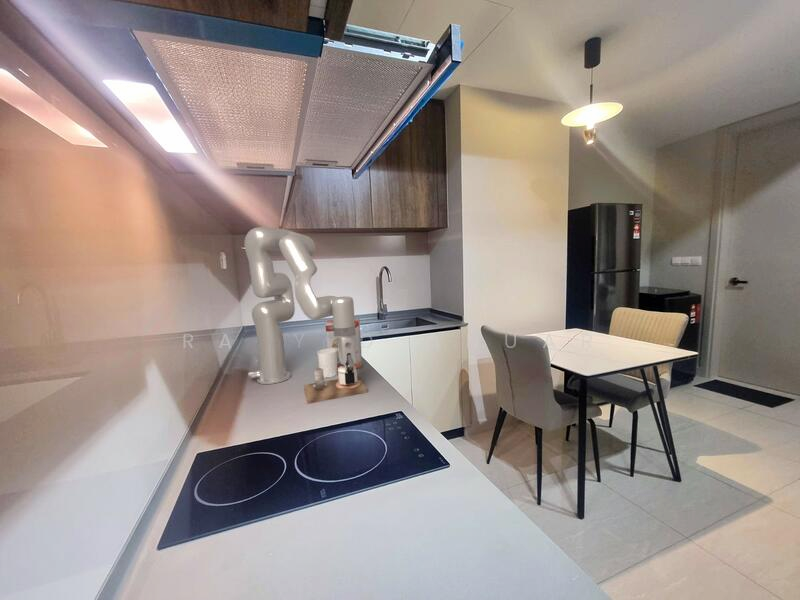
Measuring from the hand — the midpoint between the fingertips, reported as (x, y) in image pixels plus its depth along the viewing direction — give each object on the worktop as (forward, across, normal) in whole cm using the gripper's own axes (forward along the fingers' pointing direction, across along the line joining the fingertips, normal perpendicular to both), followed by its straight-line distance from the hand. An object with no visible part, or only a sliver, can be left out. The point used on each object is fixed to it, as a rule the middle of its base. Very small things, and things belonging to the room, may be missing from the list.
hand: (347, 379), depth 115 cm
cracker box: (+3, +24, -4) cm, 25 cm away
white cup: (+3, +18, +4) cm, 19 cm away
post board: (+3, 0, +5) cm, 6 cm away
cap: (+1, 0, 0) cm, 1 cm away
